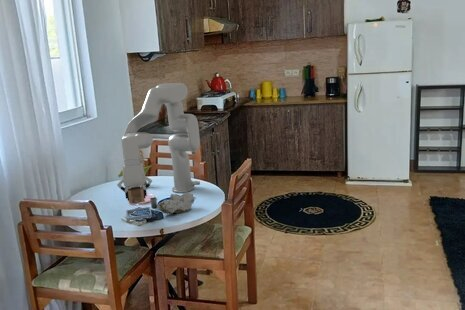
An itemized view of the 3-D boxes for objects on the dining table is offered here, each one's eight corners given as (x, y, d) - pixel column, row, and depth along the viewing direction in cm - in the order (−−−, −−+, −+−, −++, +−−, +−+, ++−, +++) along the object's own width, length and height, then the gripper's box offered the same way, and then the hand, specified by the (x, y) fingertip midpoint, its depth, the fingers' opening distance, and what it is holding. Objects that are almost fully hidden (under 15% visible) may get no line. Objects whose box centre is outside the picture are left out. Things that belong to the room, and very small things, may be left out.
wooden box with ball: (129, 199, 219) (127, 187, 218) (143, 197, 220) (142, 185, 219) (129, 204, 211) (127, 192, 210) (144, 202, 212) (143, 190, 211)
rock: (172, 227, 215) (168, 212, 209) (157, 216, 222) (153, 202, 215) (201, 204, 225) (197, 189, 219) (186, 195, 232) (183, 180, 225)
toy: (133, 191, 275) (118, 171, 273) (161, 173, 270) (146, 152, 268) (128, 196, 267) (113, 175, 265) (157, 177, 262) (142, 156, 260)
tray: (150, 210, 225) (150, 206, 225) (152, 218, 214) (151, 214, 214) (126, 214, 223) (125, 210, 222) (126, 222, 212) (126, 218, 211)
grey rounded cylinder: (156, 206, 231) (155, 196, 230) (157, 207, 229) (156, 198, 228) (151, 206, 231) (149, 197, 230) (151, 208, 228) (150, 198, 227)
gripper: (150, 158, 218) (154, 194, 222) (113, 162, 214) (117, 198, 218) (151, 161, 211) (155, 198, 215) (113, 166, 207) (117, 203, 211)
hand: (136, 198), depth 216 cm, fingers closed on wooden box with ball, 7 cm apart
